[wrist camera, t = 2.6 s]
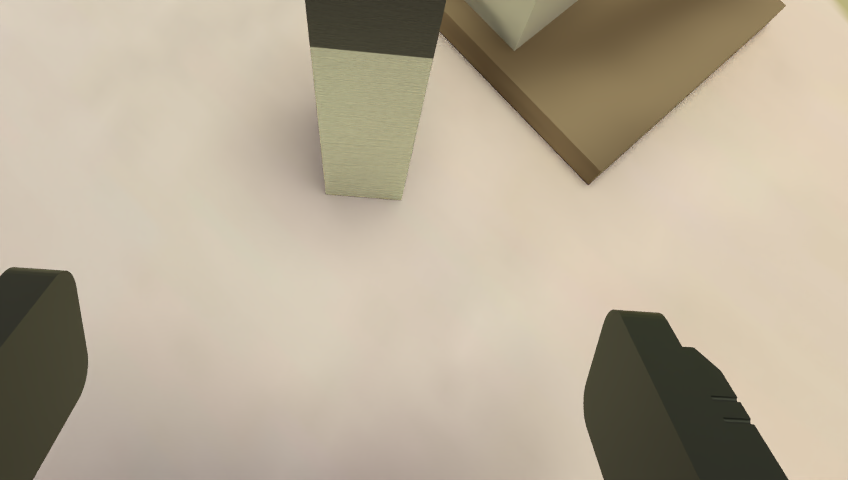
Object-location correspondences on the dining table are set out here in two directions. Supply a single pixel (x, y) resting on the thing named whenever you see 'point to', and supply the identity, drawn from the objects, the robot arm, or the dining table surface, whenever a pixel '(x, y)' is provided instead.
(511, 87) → the serving board
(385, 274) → the dining table surface
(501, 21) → the pale open square box
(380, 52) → the grey tall bar
